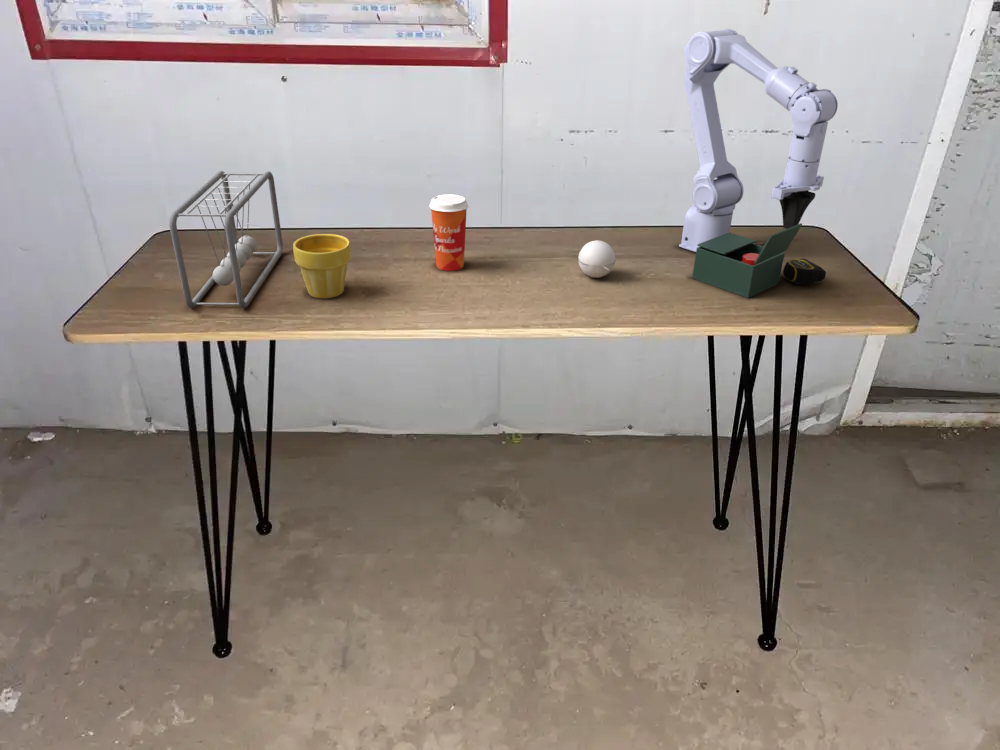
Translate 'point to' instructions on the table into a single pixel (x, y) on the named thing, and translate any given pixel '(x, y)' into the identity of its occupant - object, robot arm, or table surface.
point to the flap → (778, 243)
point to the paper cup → (449, 230)
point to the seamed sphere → (596, 259)
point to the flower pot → (323, 263)
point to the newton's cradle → (228, 238)
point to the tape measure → (803, 272)
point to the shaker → (750, 258)
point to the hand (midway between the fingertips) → (789, 228)
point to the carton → (735, 265)
